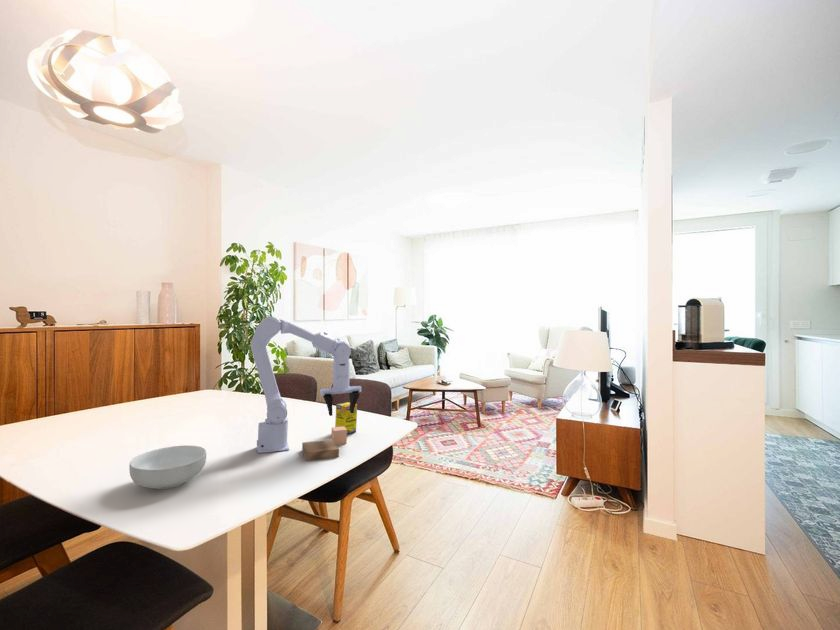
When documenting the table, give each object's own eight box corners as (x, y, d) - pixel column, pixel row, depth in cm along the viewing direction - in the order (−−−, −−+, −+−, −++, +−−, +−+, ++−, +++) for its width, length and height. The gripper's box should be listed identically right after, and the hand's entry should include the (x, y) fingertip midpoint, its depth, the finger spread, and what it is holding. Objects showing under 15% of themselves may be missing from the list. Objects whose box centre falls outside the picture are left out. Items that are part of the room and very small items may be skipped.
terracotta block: (333, 445, 131) (334, 430, 131) (331, 441, 135) (331, 427, 135) (346, 443, 133) (346, 429, 133) (343, 440, 137) (344, 426, 137)
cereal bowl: (123, 481, 98) (124, 454, 98) (195, 465, 110) (196, 441, 110) (134, 505, 86) (135, 474, 86) (213, 484, 98) (214, 457, 98)
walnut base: (306, 460, 116) (306, 452, 116) (302, 450, 125) (302, 442, 125) (338, 456, 120) (338, 448, 120) (332, 446, 129) (332, 439, 129)
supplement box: (345, 435, 142) (346, 406, 142) (334, 432, 145) (335, 404, 145) (356, 432, 146) (357, 404, 147) (346, 429, 150) (347, 401, 150)
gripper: (323, 378, 127) (323, 419, 127) (364, 375, 134) (364, 413, 134) (318, 376, 134) (318, 414, 134) (358, 373, 140) (358, 409, 140)
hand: (341, 413), depth 134 cm, fingers open, 7 cm apart
